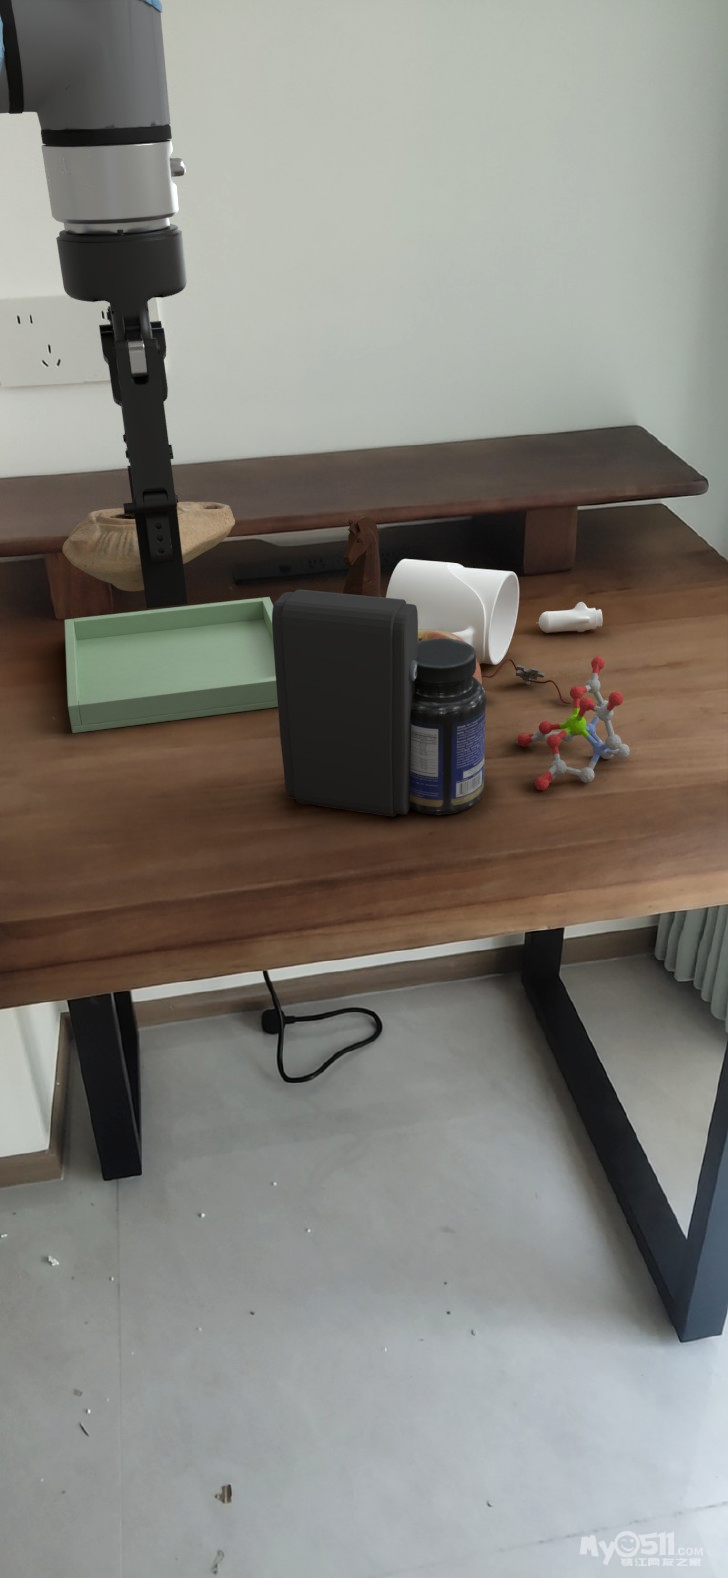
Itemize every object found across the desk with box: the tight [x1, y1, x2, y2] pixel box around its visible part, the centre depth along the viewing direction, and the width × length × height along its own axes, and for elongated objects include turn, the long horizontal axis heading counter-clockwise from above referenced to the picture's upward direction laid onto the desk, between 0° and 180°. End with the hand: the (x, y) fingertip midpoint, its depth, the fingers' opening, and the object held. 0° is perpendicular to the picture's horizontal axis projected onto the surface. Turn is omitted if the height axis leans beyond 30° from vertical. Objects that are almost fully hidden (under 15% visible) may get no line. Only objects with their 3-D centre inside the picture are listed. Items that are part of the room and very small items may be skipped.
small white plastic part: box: [537, 601, 603, 634], centre depth 106 cm, size 4×6×3 cm, turn 66°
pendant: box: [481, 658, 571, 705], centre depth 96 cm, size 8×4×3 cm
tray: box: [64, 596, 278, 734], centre depth 101 cm, size 19×18×2 cm
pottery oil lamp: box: [62, 501, 236, 592], centre depth 82 cm, size 9×12×7 cm
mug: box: [385, 558, 520, 666], centre depth 99 cm, size 12×9×8 cm
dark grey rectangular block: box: [272, 588, 418, 818], centre depth 79 cm, size 9×4×15 cm, turn 73°
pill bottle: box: [410, 638, 487, 816], centre depth 80 cm, size 6×6×11 cm
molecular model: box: [517, 656, 631, 791], centre depth 84 cm, size 7×8×7 cm
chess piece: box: [342, 515, 383, 597], centre depth 107 cm, size 5×5×10 cm
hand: (162, 577), depth 83 cm, fingers closed on pottery oil lamp, 9 cm apart
